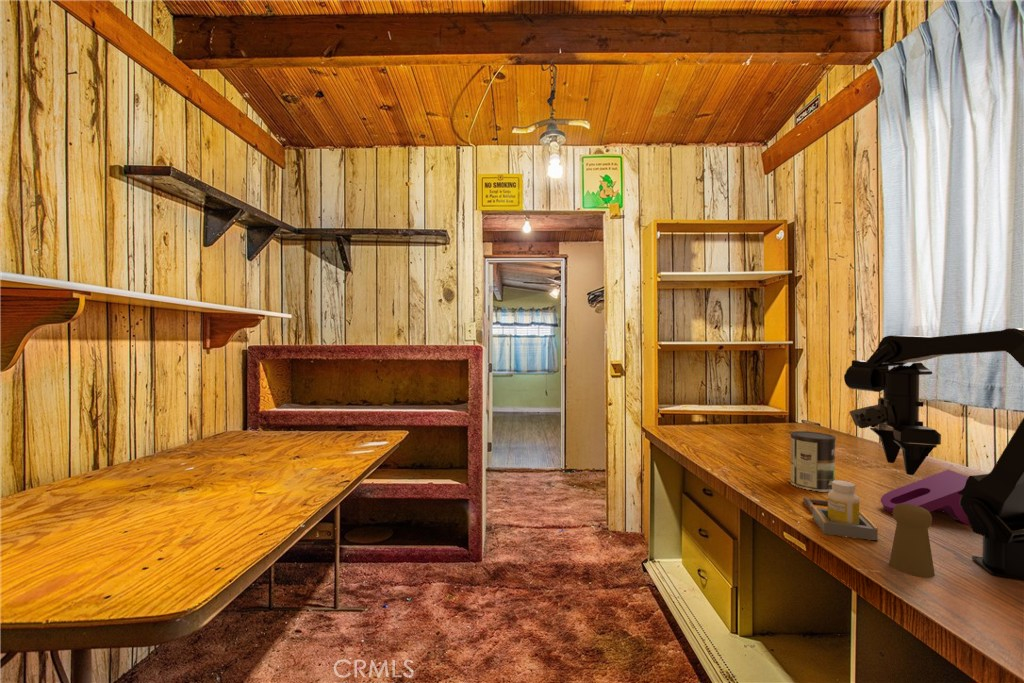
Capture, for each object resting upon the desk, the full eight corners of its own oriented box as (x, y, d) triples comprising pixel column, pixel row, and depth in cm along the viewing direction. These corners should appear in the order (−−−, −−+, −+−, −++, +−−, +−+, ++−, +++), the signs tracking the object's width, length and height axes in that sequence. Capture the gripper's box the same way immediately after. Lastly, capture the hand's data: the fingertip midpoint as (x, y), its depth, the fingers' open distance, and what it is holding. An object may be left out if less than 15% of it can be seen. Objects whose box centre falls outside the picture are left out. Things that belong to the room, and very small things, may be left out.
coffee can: (830, 483, 125) (831, 432, 125) (839, 494, 116) (839, 440, 116) (787, 478, 130) (788, 429, 130) (792, 489, 121) (792, 436, 120)
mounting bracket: (916, 548, 100) (1002, 518, 97) (898, 513, 100) (983, 482, 97) (888, 530, 109) (965, 502, 106) (871, 498, 109) (948, 469, 107)
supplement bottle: (852, 525, 97) (853, 480, 97) (864, 536, 92) (864, 488, 92) (823, 522, 99) (824, 478, 99) (833, 532, 94) (834, 485, 93)
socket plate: (877, 541, 90) (877, 527, 90) (824, 534, 93) (824, 521, 93) (861, 523, 98) (861, 511, 98) (812, 517, 101) (812, 505, 101)
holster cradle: (854, 518, 101) (854, 511, 101) (811, 513, 104) (811, 506, 104) (843, 506, 108) (843, 500, 108) (803, 501, 111) (803, 495, 111)
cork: (912, 559, 82) (912, 499, 82) (945, 577, 76) (945, 512, 76) (880, 560, 82) (880, 500, 82) (910, 577, 76) (911, 513, 76)
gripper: (841, 388, 106) (840, 454, 107) (871, 398, 89) (870, 476, 89) (899, 390, 102) (898, 458, 103) (943, 401, 85) (941, 483, 85)
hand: (899, 468), depth 95 cm, fingers open, 9 cm apart
